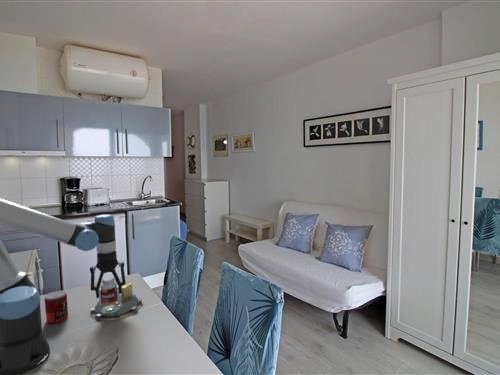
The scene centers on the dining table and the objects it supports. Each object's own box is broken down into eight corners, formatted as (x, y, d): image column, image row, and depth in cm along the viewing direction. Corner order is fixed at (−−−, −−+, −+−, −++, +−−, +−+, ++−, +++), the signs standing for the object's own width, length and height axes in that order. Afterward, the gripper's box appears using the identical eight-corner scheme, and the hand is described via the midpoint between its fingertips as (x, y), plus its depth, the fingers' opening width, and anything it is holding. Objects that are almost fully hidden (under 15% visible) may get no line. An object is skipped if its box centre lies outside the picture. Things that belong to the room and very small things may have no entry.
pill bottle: (100, 307, 122) (98, 282, 121) (103, 301, 128) (101, 277, 127) (116, 305, 123) (114, 280, 123) (118, 298, 129) (117, 275, 128)
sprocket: (151, 300, 137) (150, 285, 136) (117, 323, 117) (116, 305, 117) (117, 294, 144) (116, 279, 144) (79, 314, 125) (78, 297, 124)
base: (143, 313, 126) (143, 313, 126) (89, 325, 117) (89, 324, 117) (139, 294, 145) (139, 293, 145) (92, 303, 136) (92, 302, 136)
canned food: (57, 325, 117) (55, 299, 116) (41, 323, 119) (39, 297, 118) (72, 315, 125) (71, 291, 124) (57, 313, 126) (55, 289, 126)
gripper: (130, 245, 131) (132, 294, 133) (81, 251, 123) (85, 303, 125) (131, 249, 124) (133, 301, 126) (79, 256, 116) (83, 311, 118)
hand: (109, 302), depth 126 cm, fingers closed on pill bottle, 6 cm apart
